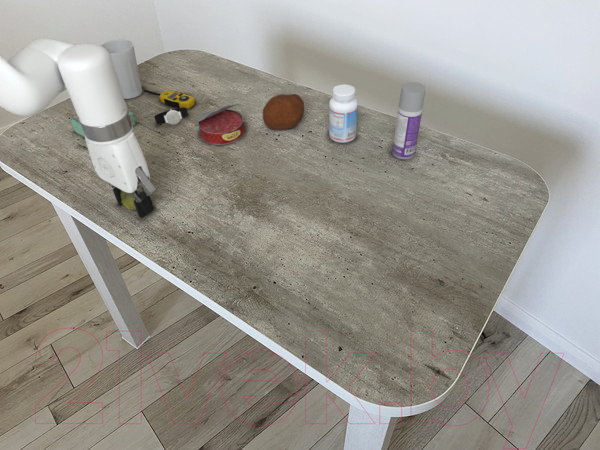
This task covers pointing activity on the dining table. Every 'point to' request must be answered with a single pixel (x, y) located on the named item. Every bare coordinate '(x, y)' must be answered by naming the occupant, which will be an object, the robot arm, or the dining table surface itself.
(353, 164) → the dining table surface
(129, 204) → the lime
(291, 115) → the potato
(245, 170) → the dining table surface
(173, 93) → the yellow walkie talkie
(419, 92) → the container
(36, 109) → the robot arm
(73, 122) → the scale
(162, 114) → the watch
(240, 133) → the canned food
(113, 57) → the cup
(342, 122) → the pill bottle
